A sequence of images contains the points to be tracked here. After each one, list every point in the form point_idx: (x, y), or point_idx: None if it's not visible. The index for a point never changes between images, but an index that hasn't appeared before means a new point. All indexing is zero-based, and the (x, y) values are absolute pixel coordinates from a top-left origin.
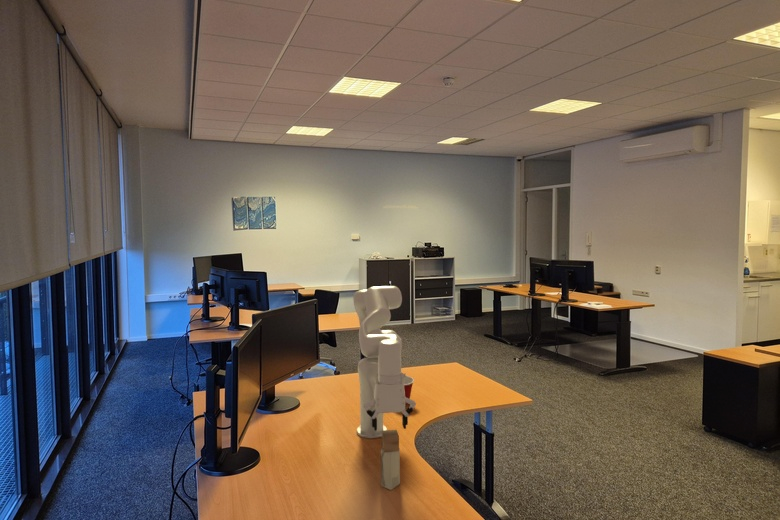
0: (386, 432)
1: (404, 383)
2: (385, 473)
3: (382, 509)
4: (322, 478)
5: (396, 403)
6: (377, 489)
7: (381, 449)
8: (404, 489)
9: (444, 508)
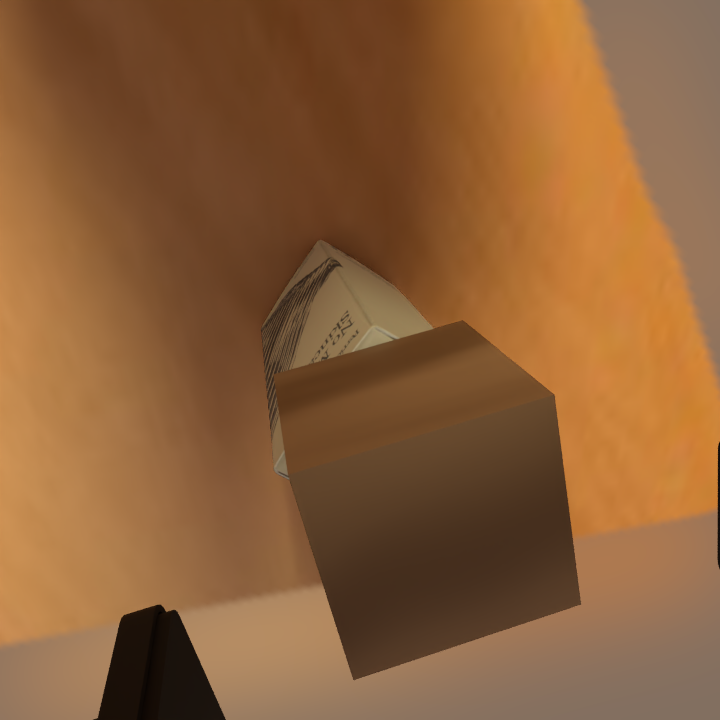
0: (382, 528)
1: None
2: None
3: (307, 556)
4: None
5: None
6: (241, 369)
7: (284, 472)
8: None
9: (639, 489)
